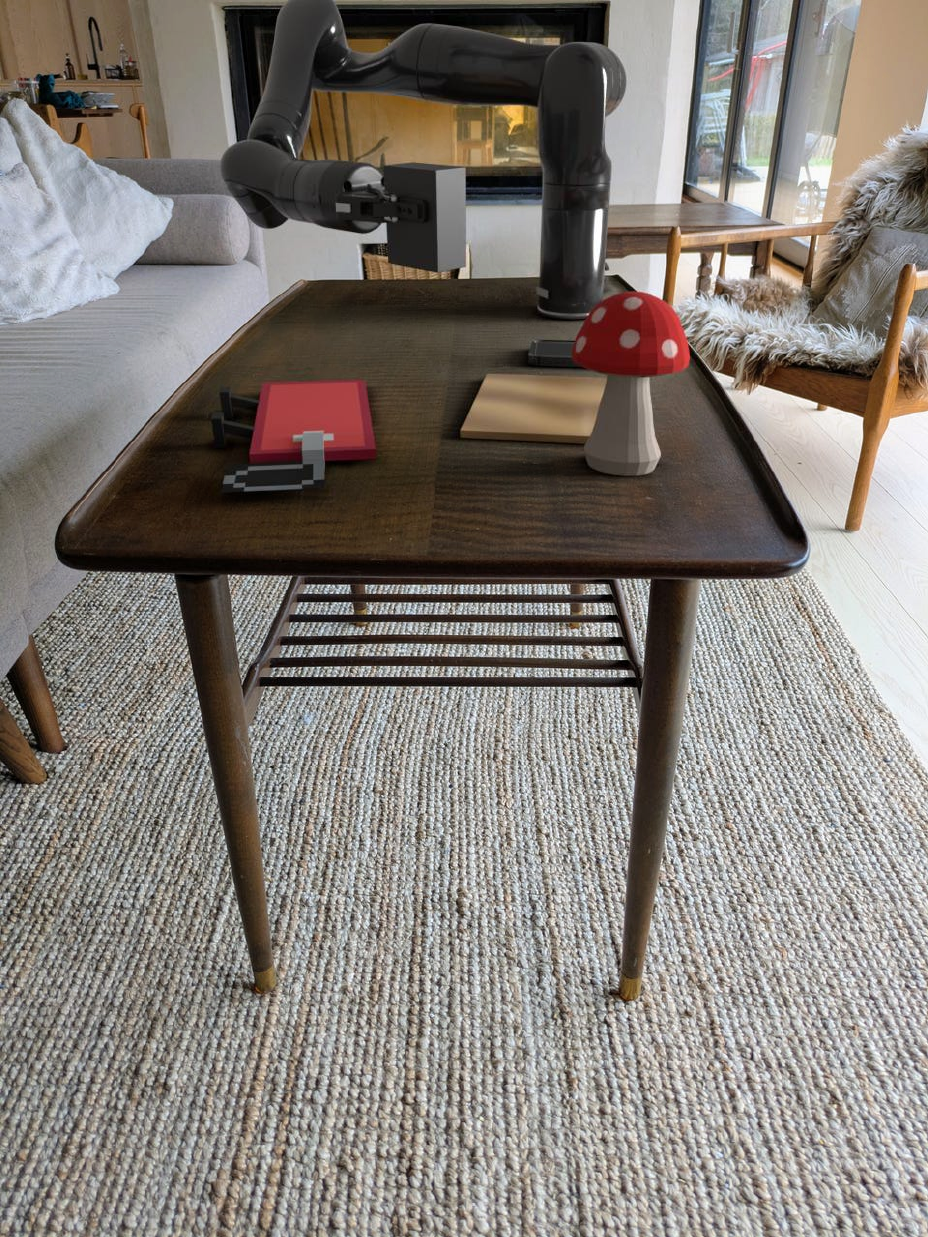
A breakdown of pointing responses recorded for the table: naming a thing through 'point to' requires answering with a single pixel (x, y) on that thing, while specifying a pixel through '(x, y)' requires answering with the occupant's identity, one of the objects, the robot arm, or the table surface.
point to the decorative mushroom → (628, 376)
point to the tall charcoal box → (429, 217)
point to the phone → (551, 353)
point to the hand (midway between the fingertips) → (442, 208)
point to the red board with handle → (296, 433)
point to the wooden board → (535, 408)
